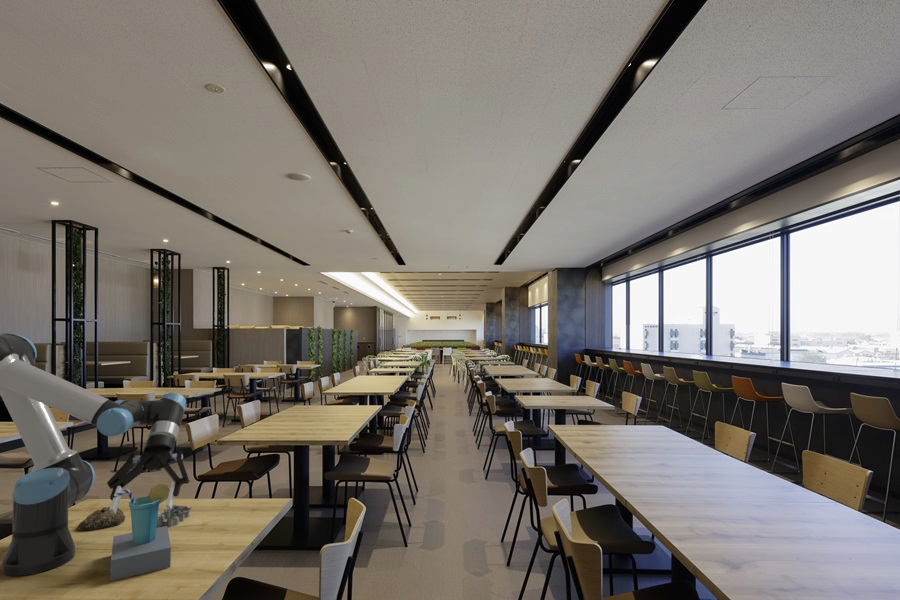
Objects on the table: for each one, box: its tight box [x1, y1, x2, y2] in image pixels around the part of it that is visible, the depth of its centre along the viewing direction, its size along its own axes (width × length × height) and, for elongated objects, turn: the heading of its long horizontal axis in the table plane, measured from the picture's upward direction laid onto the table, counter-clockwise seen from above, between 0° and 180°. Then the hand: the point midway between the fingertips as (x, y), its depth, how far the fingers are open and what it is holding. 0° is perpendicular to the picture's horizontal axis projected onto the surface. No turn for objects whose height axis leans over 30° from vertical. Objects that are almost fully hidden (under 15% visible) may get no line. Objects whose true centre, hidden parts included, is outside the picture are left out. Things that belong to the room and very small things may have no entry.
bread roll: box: [76, 506, 126, 532], centre depth 162 cm, size 13×12×5 cm
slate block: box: [110, 525, 172, 582], centre depth 134 cm, size 13×17×5 cm
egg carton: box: [157, 504, 192, 528], centre depth 163 cm, size 11×8×4 cm
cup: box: [113, 483, 170, 545], centre depth 135 cm, size 14×8×15 cm, turn 149°
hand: (140, 509), depth 134 cm, fingers open, 13 cm apart
